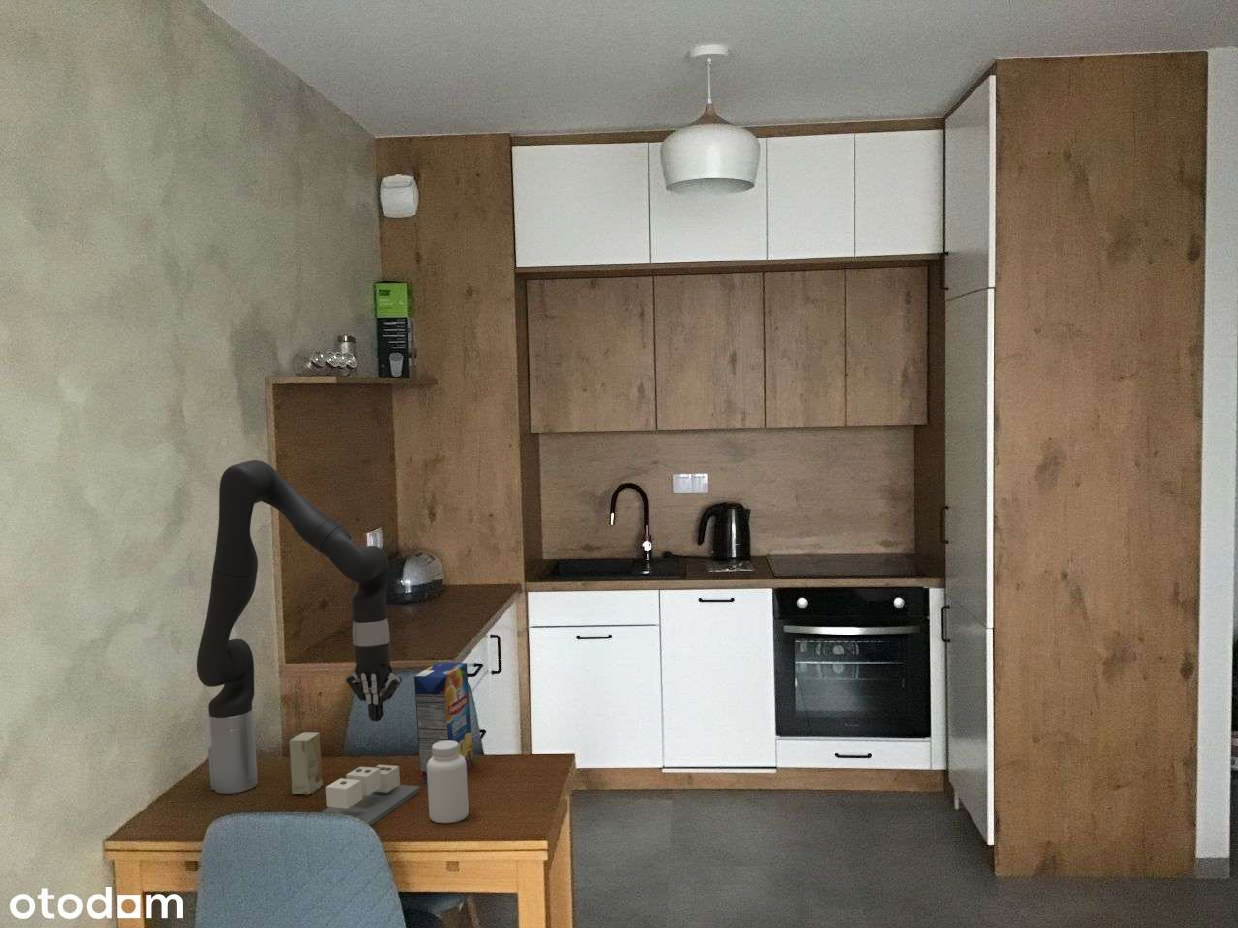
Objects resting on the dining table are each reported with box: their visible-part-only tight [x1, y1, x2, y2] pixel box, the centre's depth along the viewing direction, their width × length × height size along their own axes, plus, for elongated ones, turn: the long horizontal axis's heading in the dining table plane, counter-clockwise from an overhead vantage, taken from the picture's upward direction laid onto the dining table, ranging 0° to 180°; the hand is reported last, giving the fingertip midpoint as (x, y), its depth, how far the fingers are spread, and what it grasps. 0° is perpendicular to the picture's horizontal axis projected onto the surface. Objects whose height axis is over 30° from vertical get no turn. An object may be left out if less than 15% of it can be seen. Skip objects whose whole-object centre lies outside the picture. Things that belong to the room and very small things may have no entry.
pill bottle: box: [427, 740, 470, 824], centre depth 209 cm, size 8×8×15 cm
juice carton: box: [413, 662, 474, 784], centre depth 234 cm, size 12×8×24 cm, turn 164°
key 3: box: [373, 764, 401, 793], centre depth 223 cm, size 5×5×4 cm
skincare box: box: [289, 731, 324, 795], centre depth 229 cm, size 6×4×12 cm
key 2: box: [345, 766, 381, 796], centre depth 216 cm, size 5×5×4 cm
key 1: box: [325, 778, 362, 809], centre depth 210 cm, size 5×5×4 cm
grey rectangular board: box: [321, 784, 421, 826], centre depth 217 cm, size 13×22×1 cm, turn 160°
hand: (376, 720), depth 222 cm, fingers closed
